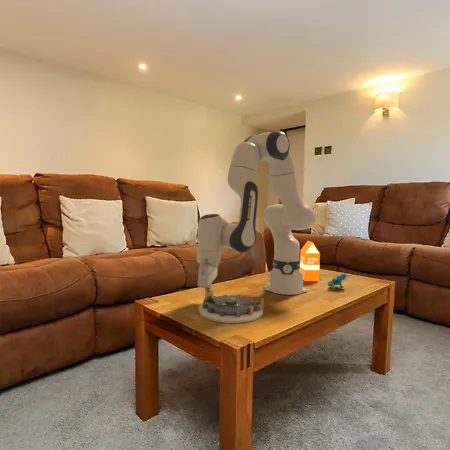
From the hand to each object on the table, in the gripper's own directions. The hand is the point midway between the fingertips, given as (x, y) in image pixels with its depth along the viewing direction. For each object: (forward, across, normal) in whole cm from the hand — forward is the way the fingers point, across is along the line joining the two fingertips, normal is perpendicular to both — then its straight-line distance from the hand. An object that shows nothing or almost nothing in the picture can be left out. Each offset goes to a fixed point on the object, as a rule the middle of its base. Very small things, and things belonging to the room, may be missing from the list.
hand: (207, 293), depth 125 cm
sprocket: (+3, -4, -9) cm, 11 cm away
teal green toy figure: (+4, +39, -54) cm, 67 cm away
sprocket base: (+5, -4, -10) cm, 11 cm away
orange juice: (+4, +54, -43) cm, 70 cm away
